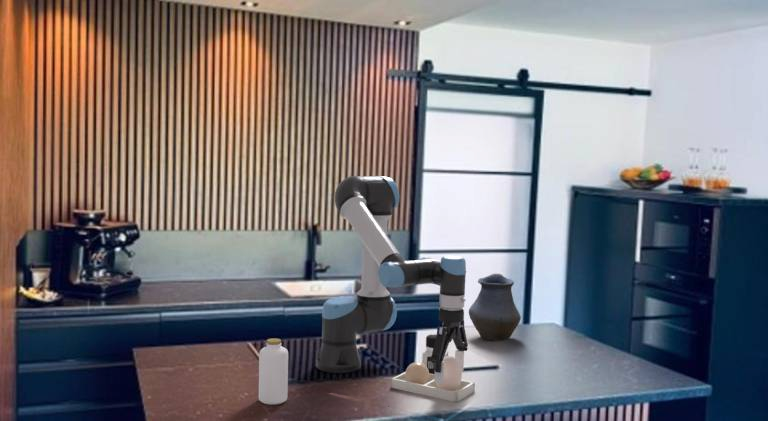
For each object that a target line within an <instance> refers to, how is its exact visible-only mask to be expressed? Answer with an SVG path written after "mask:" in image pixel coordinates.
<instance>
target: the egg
mask: <svg viewBox="0 0 768 421" xmlns="http://www.w3.org/2000/svg"><path fill="white" fill-rule="evenodd" d="M443 361H444V383H443V384H442V383H437V382H436V383H437V386H438V387H439V388H440V389H445V390H450V391H456V390H457V389H458V387H459V385H460V383H461V380H462V377H463V376H462V375H463V372H461V368H460V366H459V364H458V362H457V360H456V359H455V357H453V356H451V355H448V356H446V357H444V359H443Z"/></svg>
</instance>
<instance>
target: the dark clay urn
mask: <svg viewBox="0 0 768 421" xmlns="http://www.w3.org/2000/svg"><path fill="white" fill-rule="evenodd" d="M477 283H478V284H480V291H479V293H478V294H477V297H476V299H475V300H474V302H473V303H472V305H471V306H470V307H469V309H468V316H469V318H470V320H471V322H472V324H473V326H474V327H475V330H476V331H477V332H478V334H479V336H480V338H481V339H483V340H485V341H503V340H508V339H510V338H511V336H512V335H513V333H514V332H515V330H516V329H517V327H518V326H519V324H520V322H521V320H522V319H521V314H520V312H519V310H518V308H517V307H516V304H515V301H514V296H513V292H512V287H513V286H514V284H515V282H514V280H513V279H511V278H507V277H505V276H504V275H503V274H501V273H491V274H490V275H487V276H484V277H481V278H478V280H477Z"/></svg>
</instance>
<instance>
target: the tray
mask: <svg viewBox="0 0 768 421" xmlns="http://www.w3.org/2000/svg"><path fill="white" fill-rule="evenodd" d="M405 374H406V371H404V372H402V373H400V374H399V375H396V376H393V377H391V378H390V389H391V388H392V389H396V390H401V391H405V392H410V393H414V394H418V395H423V396H427V397H432V398H436V399H441V400H445V401H449V402H450V401H451V402H453V403H454V402H455V403H458V402H460V401H461V400H463V399H465V398H466V397H468V396H469V395H471V394H473V393H474V392H475V387H476V386H475V385H476V384H475V382H473V381H469V380H464V379H461V383H460V385H459V387H458V389H457V390H456V391H450V390H445V389H440V388H439V387H438V386H437V383H436V382H434V376H435V374H431V373H429V379H428V381H427V382H426V383H425V384H424V385H422V384H417V383H413V382H408V381H407V379H406V375H405Z"/></svg>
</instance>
